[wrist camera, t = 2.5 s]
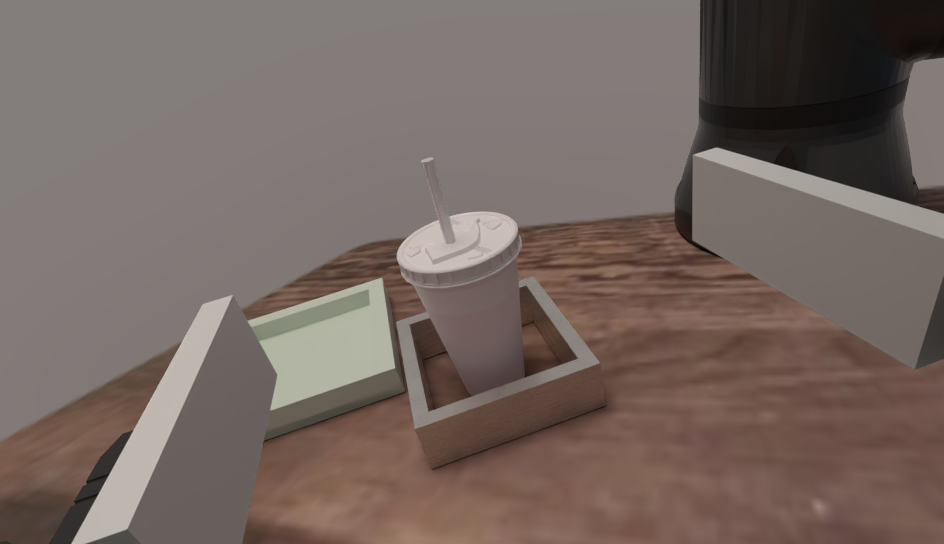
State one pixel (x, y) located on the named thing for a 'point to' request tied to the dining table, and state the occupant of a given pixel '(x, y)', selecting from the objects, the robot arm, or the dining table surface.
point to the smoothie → (469, 289)
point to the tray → (330, 356)
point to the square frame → (508, 405)
